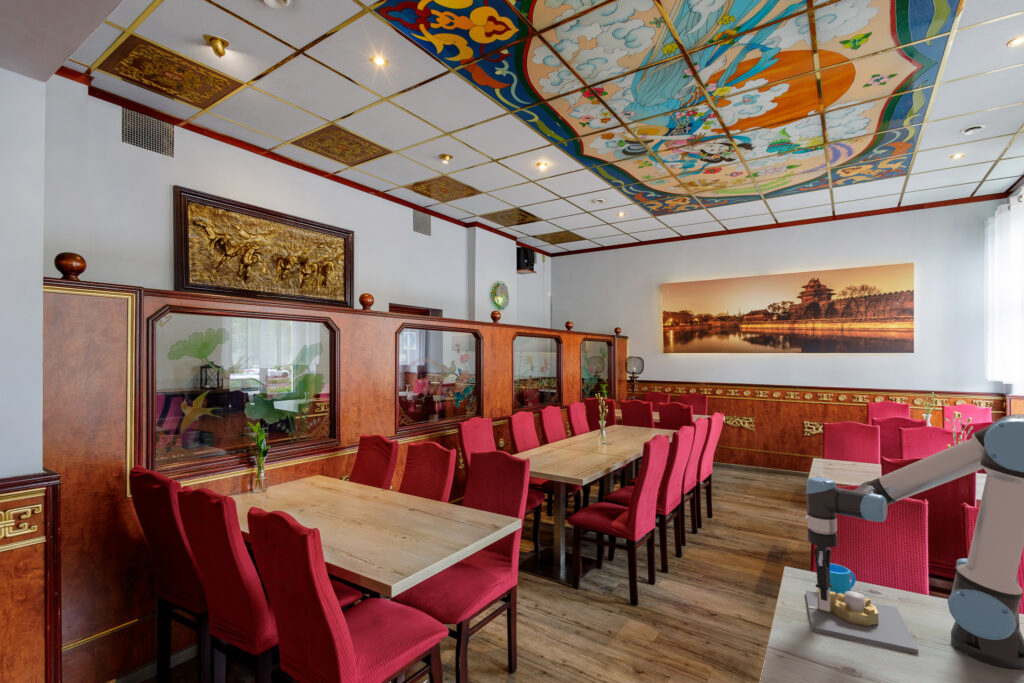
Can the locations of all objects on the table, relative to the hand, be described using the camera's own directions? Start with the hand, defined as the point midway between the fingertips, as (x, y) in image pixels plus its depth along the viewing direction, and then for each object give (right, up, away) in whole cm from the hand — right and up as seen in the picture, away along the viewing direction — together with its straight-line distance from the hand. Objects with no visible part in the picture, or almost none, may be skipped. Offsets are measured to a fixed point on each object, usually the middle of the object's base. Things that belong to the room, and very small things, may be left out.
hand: (824, 609), depth 144 cm
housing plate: (+8, -3, -1) cm, 9 cm away
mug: (+16, -4, +16) cm, 23 cm away
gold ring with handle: (+7, -1, 0) cm, 7 cm away
